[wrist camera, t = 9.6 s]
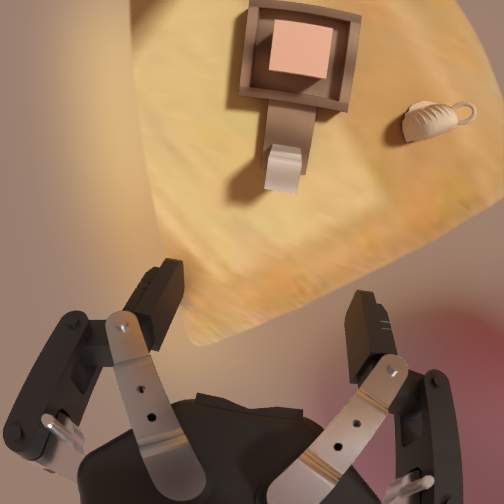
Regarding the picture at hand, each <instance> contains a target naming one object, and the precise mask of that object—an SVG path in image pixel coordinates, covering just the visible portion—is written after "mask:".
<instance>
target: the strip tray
mask: <svg viewBox="0 0 504 504" xmlns="http://www.w3.org/2000/svg"><path fill="white" fill-rule="evenodd" d="M361 17H362V16H360V15H357V14H353V13H349V12H344V11H340V10H335V9H331V8H326V7H320V6H315V5H309V4H302V3H295V2H287V1H277V0H249V8H248V16H247V24H246V32H245V41H244V49H243V58H242V67H241V77H240V86H239V96H248V97H257V98H266V99H269V104H268V113H267V121H266V129H265V137H264V145H263V153H262V161H261V168H264V169H267V172H266V180H265V187H264V189H268V190H274V191H281V192H287V193H293V194H297V188H298V183H299V177H300V174H301V175H305V174H306V169H307V163H308V158H309V152H310V146H311V140H312V135H313V129H314V123H315V117H316V111H317V107H322V108H327V109H332V110H337V111H341V112H346V113H347V111H348V106H349V100H350V95H351V89H352V83H353V76H354V70H355V63H356V56H357V49H358V42H359V34H360V26H361ZM275 19H276V20H285V21H292V22H300V23H306V24H312V25H318V26H323V27H328V28H333V33H332V41H331V48H330V55H329V62H328V69H327V76H326V79H319V78H313V77H308V76H302V75H296V74H289V73H282V72H274V71H271V70H269V65H270V56H271V48H272V40H273V32H274V24H275Z"/></svg>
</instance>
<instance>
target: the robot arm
mask: <svg viewBox="0 0 504 504" xmlns="http://www.w3.org/2000/svg"><path fill="white" fill-rule="evenodd" d="M183 293H184V271H183V261H182V260H176V259H170V258H166V259H165V260H164V262H163V263H162V265H161V267H160V268H159V267H153V268H152V269H150V270H149V271H148V272H146V273H145V275H144V276H143V278H142V279H141V282H140V283H139V284H138V286H137V288H136V289H135V291H134V292H133V294H132V296H131V297H130V299H129V300H128V302H127V303H126V305H125V307H124V308H123V310H122V311H118V312H115V313H113V314H112V315H110V316H109V317H108V319H107V320H88V317H87V315H86V314H85V313H84V312H81V311H71V312H68V313H66V314H65V315H64V316H63V317H62V318H61V320H60V321H59V323H58V324H57V326H56V328H55V329H54V331H53V333H52V334H51V336H50V338H49V339H48V341H47V343H46V344H45V346H44V348H43V350H42V352H41V353H40V355H39V357H38V358H37V360H36V362H35V364H34V366H33V367H32V369H31V371H30V373H29V375H28V377H27V379H26V381H25V383H24V385H23V387H22V389H21V391H20V393H19V395H18V397H17V399H16V401H15V403H14V405H13V408H12V410H11V412H10V414H9V416H8V419H7V421H6V423H5V426H4V429H3V438H4V441H5V444H6V445H7V447H8V448H9V449H11V450H12V451H14V452H15V453H17V454H18V455H20V456H21V457H22V458H23V459H25V460H27V461H28V462H30V463H32V464H34V465H35V466H37V467H39V468H42V469H44V470H46V471H48V472H50V473H57V474H59V475H61V476H63V477H65V478H67V479H70V480H72V481H74V482H76V483H77V484H78V489H79V493H80V501H81V504H463V477H462V462H461V451H460V443H459V434H458V427H457V421H456V414H455V409H454V403H453V398H452V393H451V389H450V383H449V380H448V378H447V376H446V375H445V374H444V373H442V372H441V371H439V370H435V369H434V370H433V369H432V370H429V371H428V372H427V373H426V374H425V375H423V374H420V373H417V372H414V371H411V370H409V369H408V366H407V364H406V362H405V361H404V360H403V359H402V358H401V357H399V356H398V355H397V350H396V346H395V342H394V338H393V334H392V330H391V325H390V323H389V318H388V314H387V312H386V310H385V309H384V307H383V306H382V305H381V304H376V300H375V296H374V293H373V292H370V291H363V290H357V291H356V292H355V294H354V297H353V299H352V301H351V304H350V306H349V308H348V311H347V313H346V317H345V323H344V324H345V335H346V344H347V355H348V364H349V365H348V366H349V379H350V383H353V384H358V390H357V392H356V393H355V394H354V395H353V397H352V398H351V399H350V400H349V402H348V403H347V404H346V405H345V406H344V408H343V409H342V410H341V411H340V413H339V414H338V415H337V416H336V417H335V418H334V419H333V421H332V422H331V423H330V424H329V425H328V426H327V427H326V429H325V430H324V429H323V428H322V427H321V426H320V425H318V424H317V423H315V422H314V421H312V420H310V419H308V418H306V417H303V409H292V408H284V407H283V408H282V407H270V408H258V409H248V408H245V407H243V406H240V405H238V404H235V403H233V402H231V401H229V400H226V399H224V398H220V397H215V396H210V395H206V394H201V393H197V395H196V399H189V400H182V401H178V402H175V403H172V404H170V402H169V400H168V397H167V395H166V393H165V390H164V388H163V386H162V383H161V381H160V378H159V376H158V373H157V371H156V368H155V365H154V363H153V360H152V358H151V355H150V354H149V353H150V351H151V350H154V351H159V350H160V347H161V345H162V343H163V340H164V338H165V336H166V333H167V331H168V329H169V327H170V324H171V322H172V320H173V318H174V315H175V313H176V311H177V309H178V306H179V304H180V302H181V300H182V297H183ZM103 367H113V368H114V372H115V376H116V379H117V383H118V386H119V390H120V393H121V397H122V400H123V402H124V406H125V409H126V412H127V415H128V418H129V421H130V424H131V427H132V428H131V429H130V430H128V431H126V432H125V433H123V434H121V435H120V436H118V437H116V438H115V439H113V440H111V441H109V442H108V443H106V444H104V445H102V446H101V447H99V448H97V449H95V450H94V451H92V452H90V453H89V454H88V455H86V456H85V454H84V451H83V445H84V435H83V433H82V431H81V430H80V428H79V425H80V422H81V419H82V416H83V414H84V411H85V409H86V406H87V404H88V401H89V398H90V396H91V394H92V391H93V389H94V386H95V384H96V382H97V380H98V377H99V375H100V373H101V370H102V368H103ZM387 413H391V414H394V419H395V443H396V480H394V481H393V482H391V484H390V485H389V486H388V488H387V491H386V495H385V498H384V500H383V501H382V503H381V501H380V499H379V498H378V497H377V495H376V494H375V493H374V492H373V491H372V489H371V488H370V487H369V486H368V485H367V483H366V482H365V481H364V479H363V478H362V477H361V476H360V474H359V473H358V472H357V471H356V469H355V468H354V467H353V466H352V463H353V461H354V460H355V459H356V458H357V456H358V455H359V453H360V452H361V451H362V450H363V448H364V447H365V446H366V444H367V443H368V442H369V440H370V439H371V437H372V436H373V434H374V433H375V432H376V430H377V429H378V427H379V426H380V424H381V423H382V421H383V420H384V418H385V417H386V415H387Z"/></svg>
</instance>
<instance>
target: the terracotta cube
mask: <svg viewBox="0 0 504 504" xmlns="http://www.w3.org/2000/svg"><path fill="white" fill-rule="evenodd" d="M332 33H333V28H328V27H323V26H318V25H312V24H306V23H300V22H292V21H285V20H276V19H275V24H274V32H273V40H272V48H271V56H270V65H269V70H271V71H274V72H282V73H289V74H296V75H302V76H308V77H313V78H319V79H326V76H327V69H328V62H329V55H330V48H331V41H332Z"/></svg>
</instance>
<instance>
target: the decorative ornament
mask: <svg viewBox="0 0 504 504" xmlns="http://www.w3.org/2000/svg"><path fill="white" fill-rule="evenodd" d="M461 106H468V107H470V108H471V109H472V115H471V116H470V117H469V118H468V119H465V120H458V118H457V116H456V114H455V112H454V111H455V110H456V109H457V108H459V107H461ZM475 117H476V108H475V106H474V105H473V104H471V103H469V102H465V101H463V102H458V103H456V104H454V105H453V106H452V107H449V106H447V105H443V104H439V103H434V102H432V101H430V102H427V101H420V102H419V103H416V104H414V105H412V106H411V107H410V109H409V111H408V112H407V113H406V114H405V118H404V119H403V121H402V131H403V134H404V137H405V140H406V142H411V141H421V140H426V139H429V138H432V137H435V136H438V135H440V134H443V133H446V132H448V131H450V130H452V129H454V128H455V127H456V126H457V125H465V124H468V123H470V122H472V121H473V120H474V118H475Z"/></svg>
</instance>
